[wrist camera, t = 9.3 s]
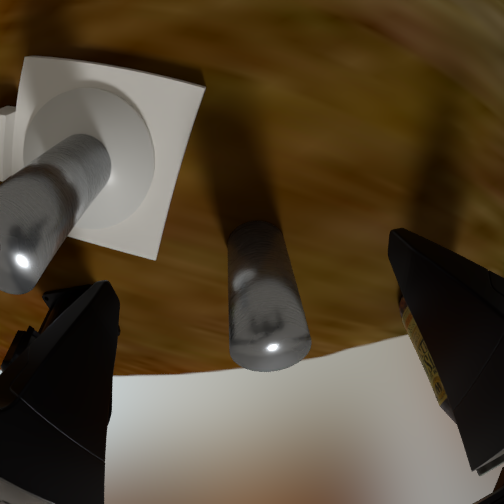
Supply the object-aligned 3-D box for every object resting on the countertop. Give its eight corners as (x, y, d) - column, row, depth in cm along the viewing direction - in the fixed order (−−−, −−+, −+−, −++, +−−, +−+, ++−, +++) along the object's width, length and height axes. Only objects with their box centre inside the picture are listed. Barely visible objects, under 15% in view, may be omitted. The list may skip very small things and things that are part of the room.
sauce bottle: (403, 276, 28) (498, 465, 12) (452, 269, 28) (550, 429, 12) (389, 323, 32) (455, 490, 15) (434, 314, 32) (507, 461, 15)
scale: (158, 251, 24) (152, 270, 22) (1, 207, 21) (-14, 221, 19) (206, 86, 18) (203, 90, 16) (12, 54, 14) (-7, 57, 12)
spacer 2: (233, 272, 26) (238, 376, 18) (222, 226, 24) (221, 329, 15) (287, 263, 26) (312, 364, 18) (281, 216, 23) (309, 314, 15)
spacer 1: (67, 202, 19) (-6, 298, 11) (45, 146, 17) (-50, 221, 9) (120, 186, 19) (56, 288, 11) (99, 124, 17) (6, 192, 8)
